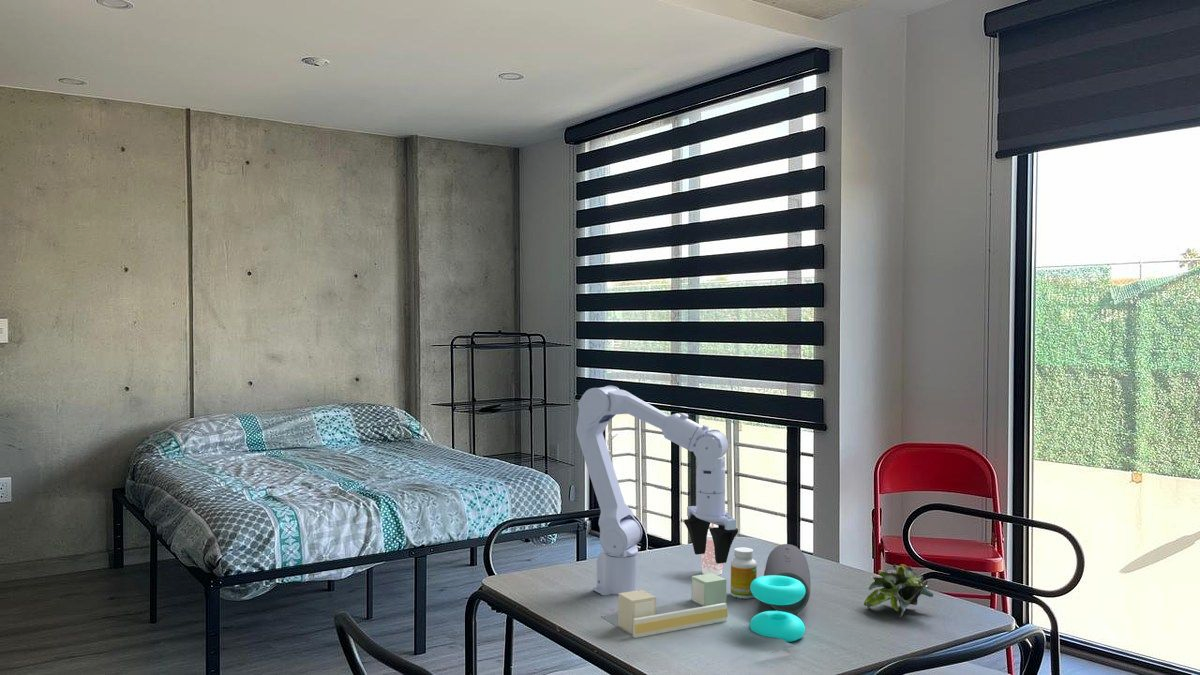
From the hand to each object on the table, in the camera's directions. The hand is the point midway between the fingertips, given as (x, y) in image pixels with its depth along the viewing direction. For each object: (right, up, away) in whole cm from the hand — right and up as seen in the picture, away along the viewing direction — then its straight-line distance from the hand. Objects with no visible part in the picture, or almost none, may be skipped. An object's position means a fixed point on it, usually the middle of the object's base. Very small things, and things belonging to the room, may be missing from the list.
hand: (710, 558), depth 177 cm
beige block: (-15, -9, -16) cm, 24 cm away
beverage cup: (+4, -10, +25) cm, 27 cm away
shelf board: (-10, -10, -11) cm, 18 cm away
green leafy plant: (+37, -11, -2) cm, 39 cm away
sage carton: (0, -10, 0) cm, 10 cm away
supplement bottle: (+8, -10, +8) cm, 15 cm away
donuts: (+10, -10, -16) cm, 21 cm away
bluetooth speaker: (+16, -10, +3) cm, 19 cm away
